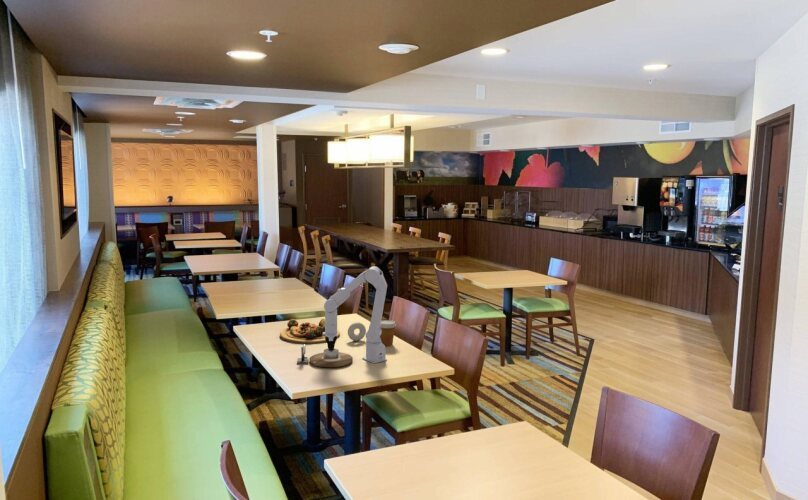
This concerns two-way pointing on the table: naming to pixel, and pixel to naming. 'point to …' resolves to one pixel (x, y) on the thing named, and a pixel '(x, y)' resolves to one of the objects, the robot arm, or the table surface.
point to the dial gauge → (303, 359)
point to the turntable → (331, 360)
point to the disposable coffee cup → (387, 332)
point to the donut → (361, 334)
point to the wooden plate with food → (305, 332)
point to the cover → (331, 353)
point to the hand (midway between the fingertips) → (331, 351)
